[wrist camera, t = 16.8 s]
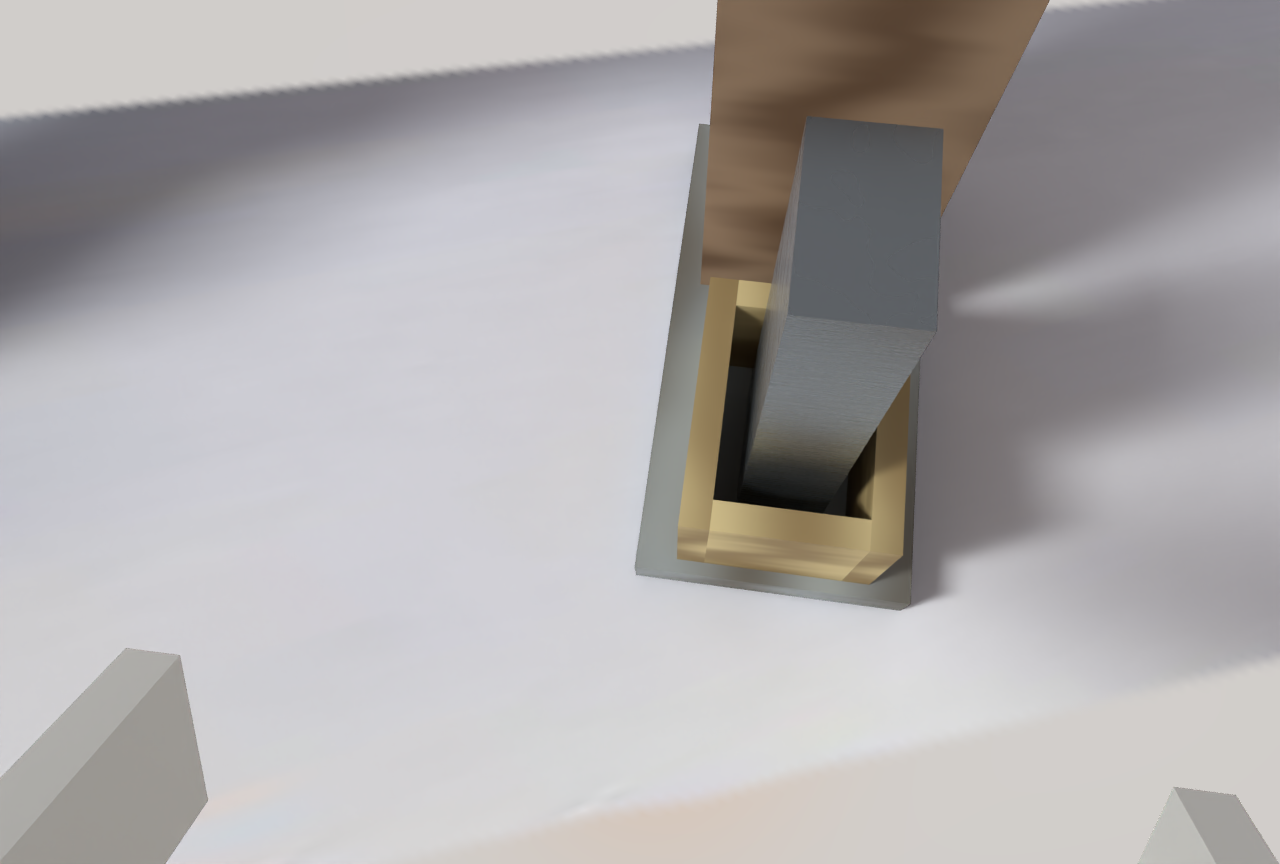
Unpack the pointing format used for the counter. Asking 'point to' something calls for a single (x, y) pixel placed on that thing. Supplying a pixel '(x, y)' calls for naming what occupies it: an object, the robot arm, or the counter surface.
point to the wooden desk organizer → (744, 266)
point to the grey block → (842, 306)
